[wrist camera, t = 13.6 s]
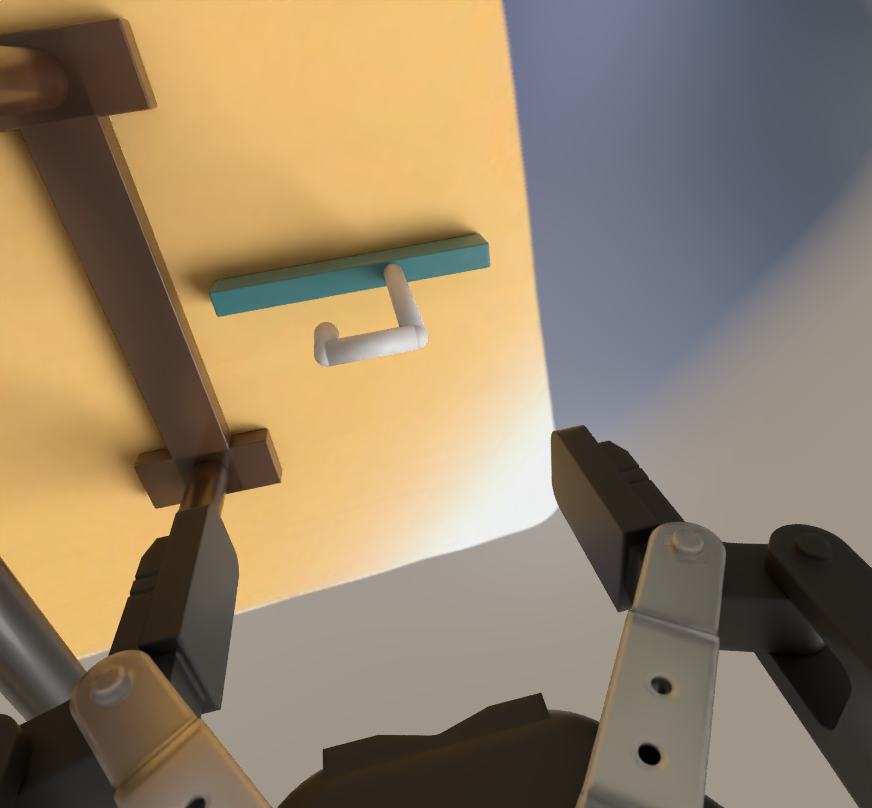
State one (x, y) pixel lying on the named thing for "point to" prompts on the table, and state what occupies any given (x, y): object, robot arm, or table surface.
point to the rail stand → (112, 305)
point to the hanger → (352, 277)
